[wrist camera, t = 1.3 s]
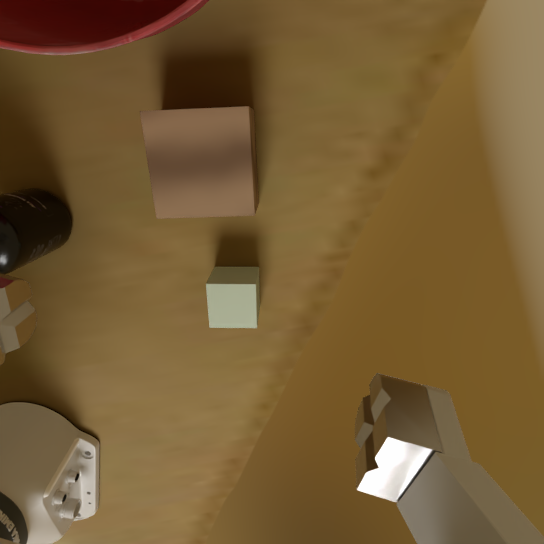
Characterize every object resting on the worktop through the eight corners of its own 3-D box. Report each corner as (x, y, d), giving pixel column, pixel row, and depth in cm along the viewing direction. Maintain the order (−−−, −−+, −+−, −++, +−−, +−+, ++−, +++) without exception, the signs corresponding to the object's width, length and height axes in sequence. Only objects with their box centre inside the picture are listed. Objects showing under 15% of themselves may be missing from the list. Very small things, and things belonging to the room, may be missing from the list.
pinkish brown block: (258, 203, 38) (254, 215, 33) (174, 205, 39) (156, 218, 33) (254, 110, 35) (248, 106, 30) (162, 113, 36) (139, 111, 30)
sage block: (259, 306, 43) (256, 327, 38) (217, 305, 43) (209, 327, 38) (259, 266, 41) (255, 284, 36) (214, 266, 41) (206, 284, 36)
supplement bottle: (58, 181, 38) (-36, 202, 27) (83, 242, 40) (7, 285, 29) (-1, 194, 39) (-116, 220, 28) (27, 253, 41) (-68, 300, 30)
